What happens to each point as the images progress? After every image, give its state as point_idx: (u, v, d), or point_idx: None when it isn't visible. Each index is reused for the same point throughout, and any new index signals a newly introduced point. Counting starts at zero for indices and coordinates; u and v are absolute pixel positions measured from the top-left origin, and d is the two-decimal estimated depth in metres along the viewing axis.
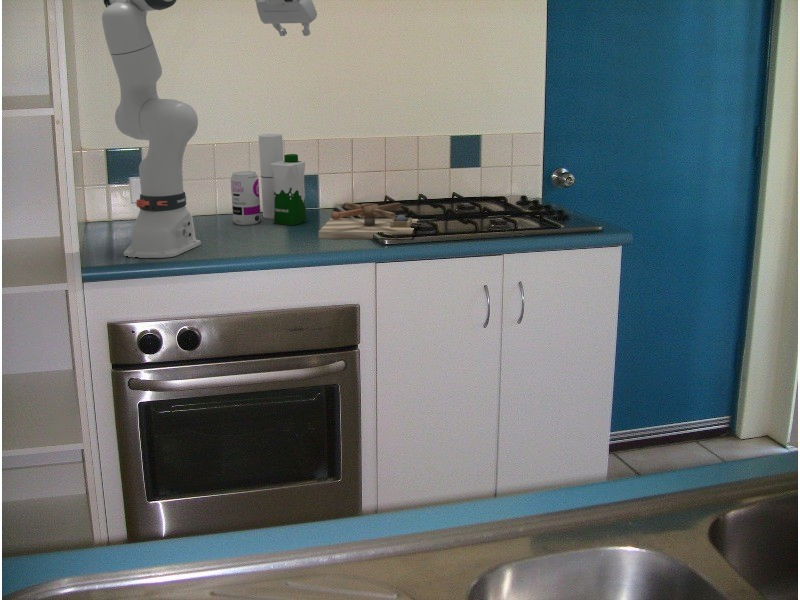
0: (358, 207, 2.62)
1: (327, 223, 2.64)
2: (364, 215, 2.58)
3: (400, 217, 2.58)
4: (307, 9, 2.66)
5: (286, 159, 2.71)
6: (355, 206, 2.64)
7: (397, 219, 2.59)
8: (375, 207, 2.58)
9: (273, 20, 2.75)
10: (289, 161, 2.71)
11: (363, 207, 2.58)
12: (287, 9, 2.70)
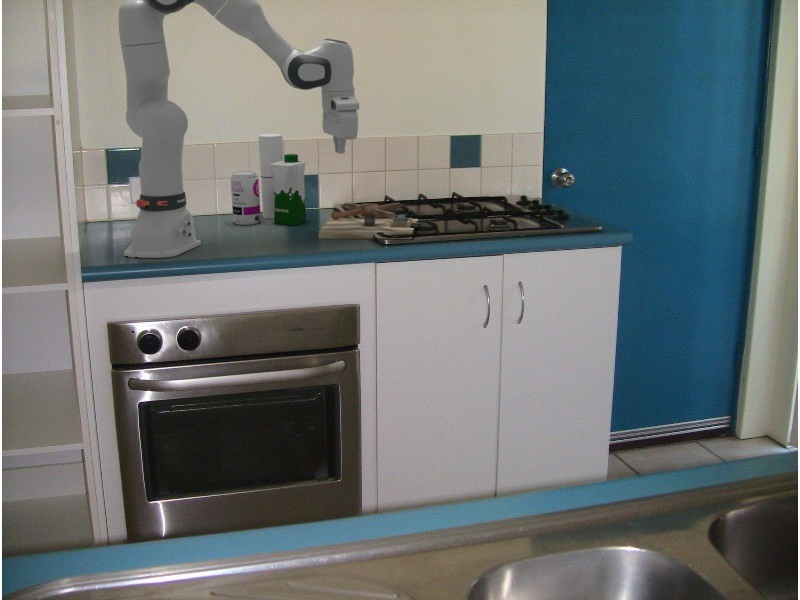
0: (358, 207, 2.62)
1: (327, 223, 2.64)
2: (364, 215, 2.58)
3: (400, 217, 2.58)
4: (345, 123, 2.39)
5: (286, 159, 2.71)
6: (355, 206, 2.64)
7: (397, 219, 2.59)
8: (375, 207, 2.58)
9: (327, 130, 2.53)
10: (289, 161, 2.71)
11: (363, 207, 2.58)
12: (336, 120, 2.46)
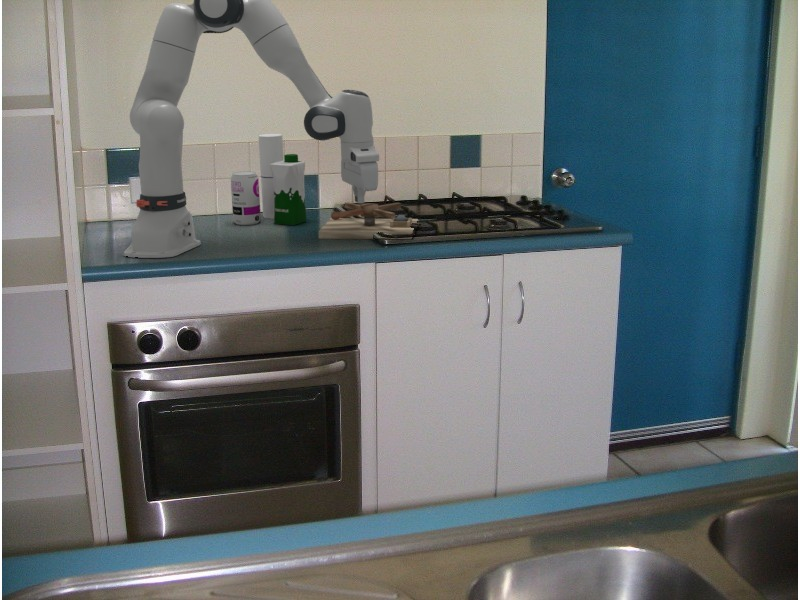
0: (358, 207, 2.62)
1: (327, 223, 2.64)
2: (364, 215, 2.58)
3: (400, 217, 2.58)
4: (366, 175, 2.39)
5: (286, 159, 2.71)
6: (355, 206, 2.64)
7: (397, 219, 2.59)
8: (375, 207, 2.58)
9: (346, 179, 2.52)
10: (289, 161, 2.71)
11: (363, 207, 2.58)
12: (355, 170, 2.45)
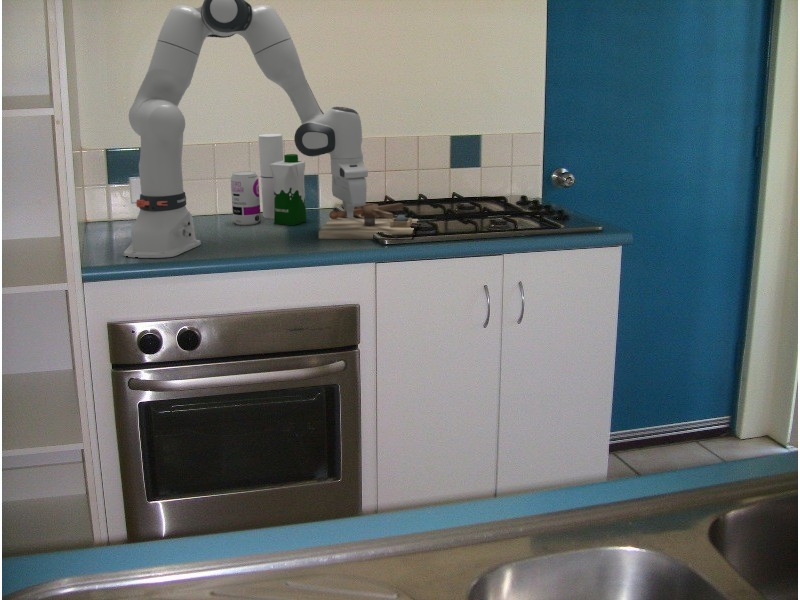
0: (359, 207, 2.63)
1: (327, 223, 2.64)
2: (363, 215, 2.58)
3: (400, 217, 2.58)
4: (354, 191, 2.42)
5: (286, 159, 2.71)
6: None
7: (397, 219, 2.59)
8: (374, 207, 2.58)
9: (337, 194, 2.56)
10: (289, 161, 2.71)
11: (363, 207, 2.58)
12: (345, 186, 2.49)
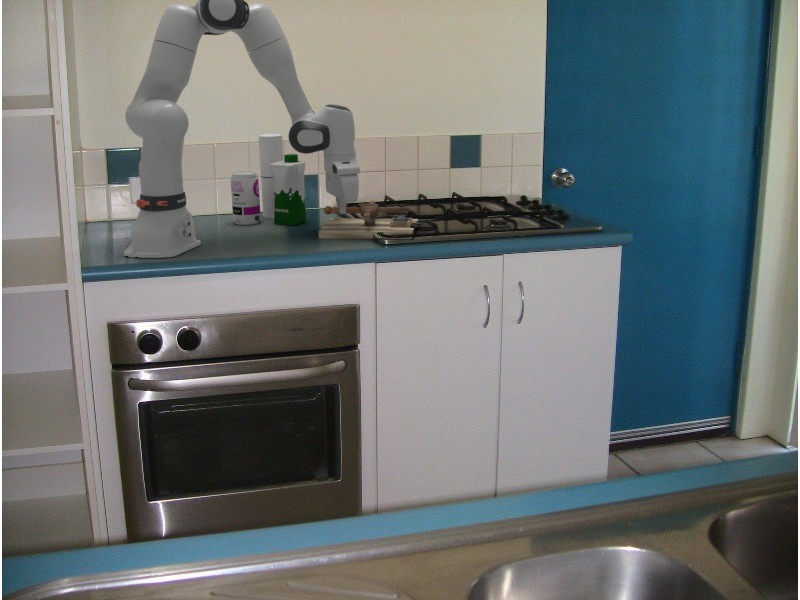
0: None
1: (327, 223, 2.64)
2: (361, 214, 2.59)
3: (400, 217, 2.58)
4: (346, 187, 2.47)
5: (286, 159, 2.71)
6: None
7: (397, 219, 2.59)
8: (369, 208, 2.57)
9: (330, 190, 2.60)
10: (289, 161, 2.71)
11: (360, 206, 2.59)
12: (337, 182, 2.53)
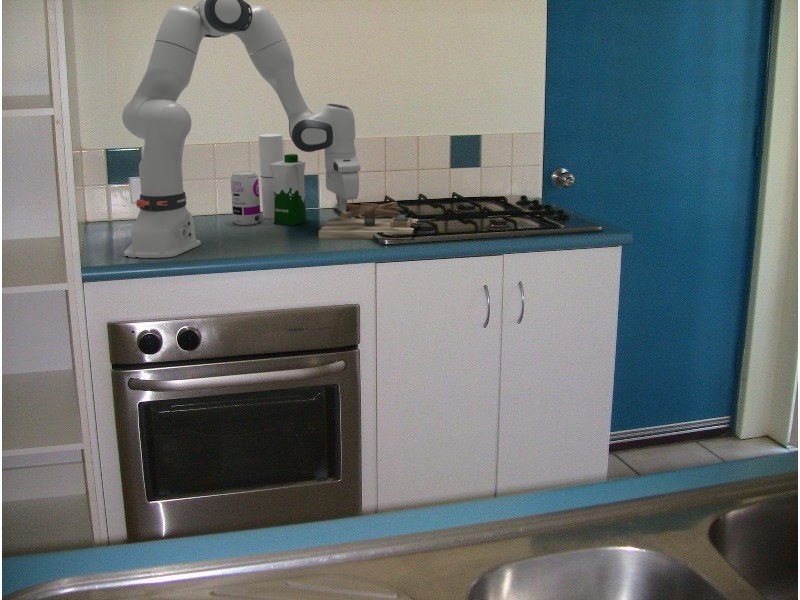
0: None
1: (327, 223, 2.64)
2: None
3: (400, 217, 2.58)
4: (347, 184, 2.53)
5: (286, 159, 2.71)
6: None
7: (397, 219, 2.59)
8: (364, 207, 2.58)
9: (330, 187, 2.66)
10: (289, 161, 2.71)
11: None
12: (338, 180, 2.59)
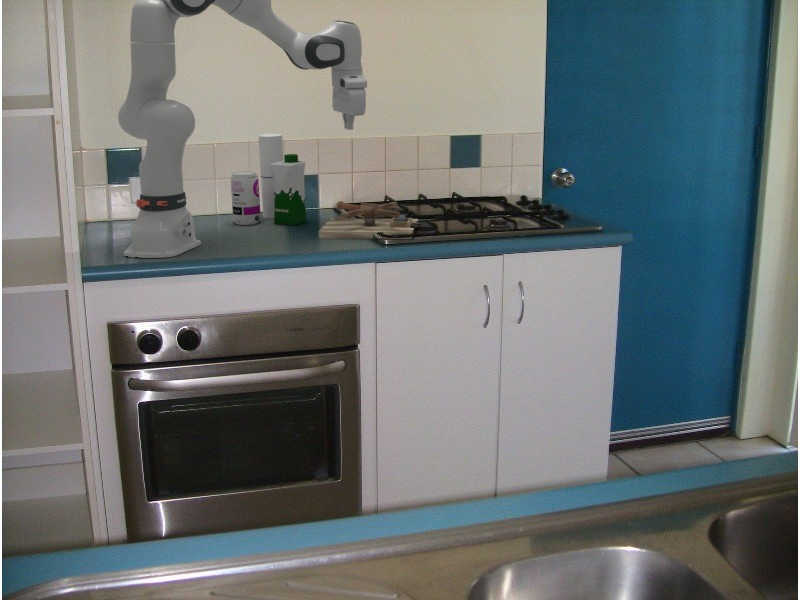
0: None
1: (327, 223, 2.64)
2: None
3: (400, 217, 2.58)
4: (354, 100, 2.54)
5: (286, 159, 2.71)
6: None
7: (397, 219, 2.59)
8: (364, 207, 2.58)
9: (337, 107, 2.67)
10: (289, 161, 2.71)
11: None
12: (345, 97, 2.60)
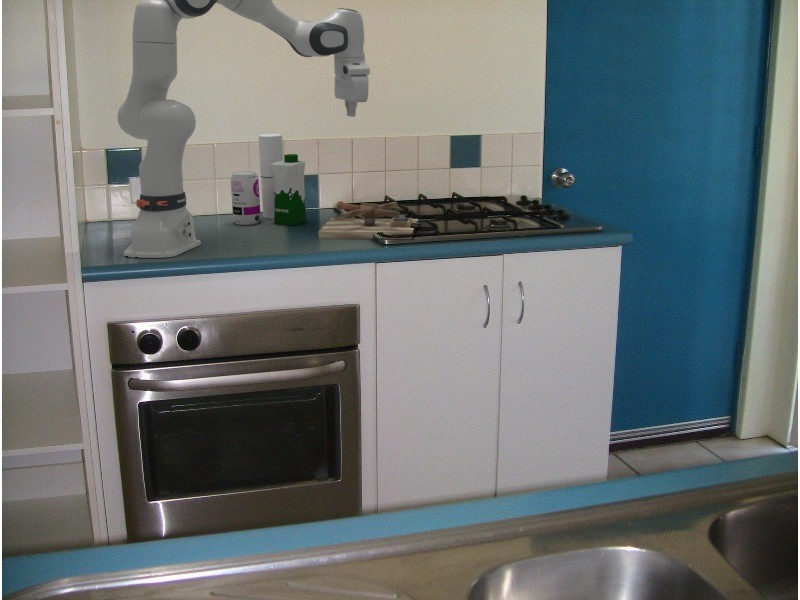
0: None
1: (327, 223, 2.64)
2: None
3: (400, 217, 2.58)
4: (357, 87, 2.56)
5: (286, 159, 2.71)
6: None
7: (397, 219, 2.59)
8: (364, 207, 2.58)
9: (339, 95, 2.70)
10: (289, 161, 2.71)
11: None
12: (347, 85, 2.62)
